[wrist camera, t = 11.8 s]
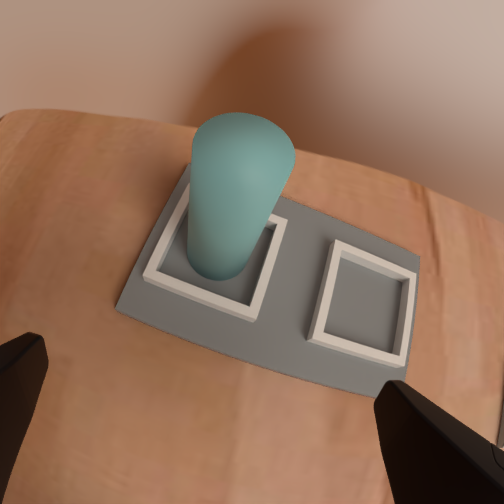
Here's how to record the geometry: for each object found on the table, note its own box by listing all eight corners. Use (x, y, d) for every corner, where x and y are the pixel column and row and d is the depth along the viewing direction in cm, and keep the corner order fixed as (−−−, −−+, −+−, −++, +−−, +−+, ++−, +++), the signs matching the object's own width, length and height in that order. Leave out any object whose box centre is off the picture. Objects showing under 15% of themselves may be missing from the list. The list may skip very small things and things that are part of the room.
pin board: (416, 259, 25) (427, 251, 23) (395, 402, 20) (408, 402, 18) (189, 167, 24) (189, 154, 23) (116, 311, 19) (111, 305, 17)
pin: (207, 292, 20) (227, 206, 11) (176, 240, 21) (174, 130, 12) (260, 262, 21) (314, 167, 12) (227, 214, 22) (258, 103, 13)
